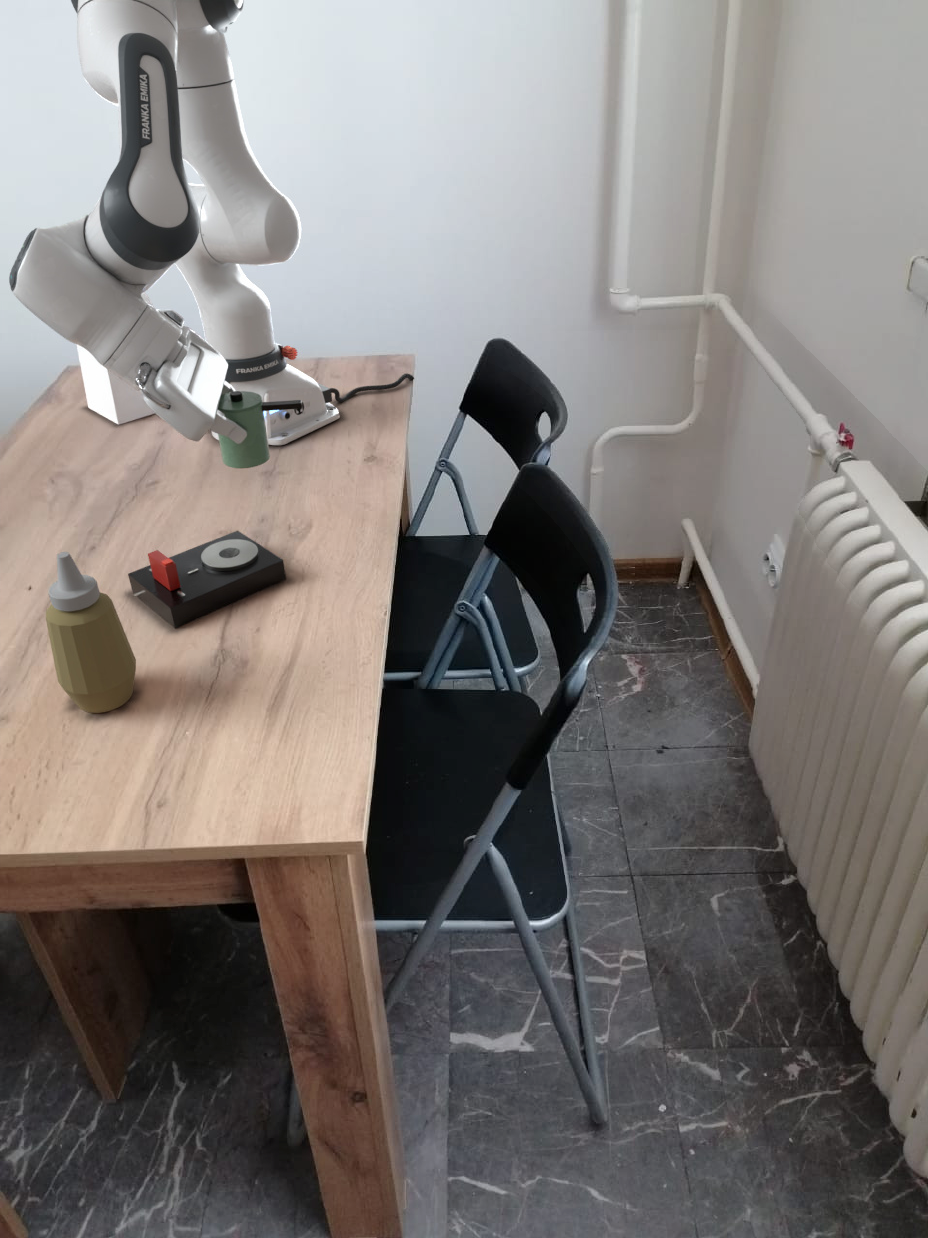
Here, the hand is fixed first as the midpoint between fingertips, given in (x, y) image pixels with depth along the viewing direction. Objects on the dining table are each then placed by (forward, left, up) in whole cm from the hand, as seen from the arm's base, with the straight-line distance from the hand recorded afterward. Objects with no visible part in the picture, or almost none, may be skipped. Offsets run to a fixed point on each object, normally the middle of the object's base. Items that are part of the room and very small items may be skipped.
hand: (246, 425), depth 115 cm
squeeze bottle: (+29, +12, -20) cm, 37 cm away
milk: (-13, -65, -20) cm, 69 cm away
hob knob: (+14, 0, -17) cm, 22 cm away
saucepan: (-1, +1, -4) cm, 5 cm away
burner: (+5, 0, -17) cm, 17 cm away
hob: (+9, 0, -20) cm, 21 cm away
